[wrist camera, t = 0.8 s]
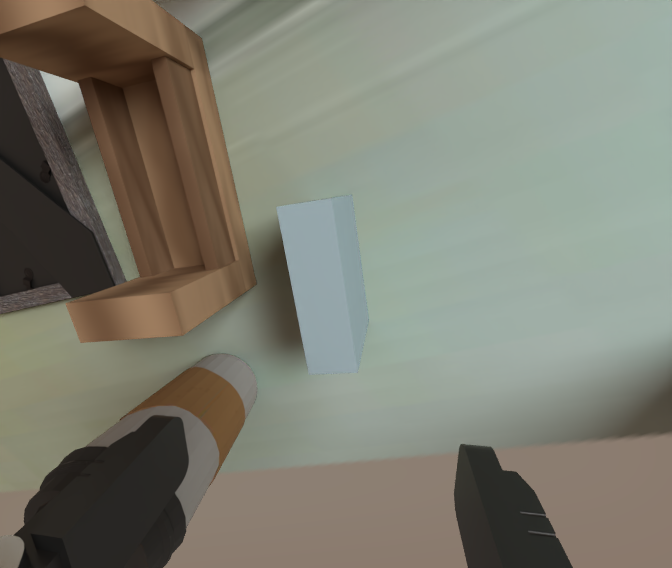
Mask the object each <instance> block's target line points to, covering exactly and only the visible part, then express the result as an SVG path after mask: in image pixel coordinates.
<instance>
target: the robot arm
mask: <svg viewBox="0 0 672 568" xmlns="http://www.w3.org/2000/svg"><path fill="white" fill-rule="evenodd" d="M188 465H189V455H188V449H187V443H186V437H185V431H184V425H183V421H182V419H181V418H180V417H175V416H164V415H153V416H151V417H150V418H148V419H147V420H146V421H145V422H144V423H143V424H142V425H141V426H140V427H139V428H138V429H137V430H136V431H135V432H130V433H129V434H127V435H125V436H124V437H122V438H120V439H119V440H117V441H116V442H114V443H112V444H111V445H110V446H109V447H108V448H107V449H106V450H104V451H103V452H102V453H101V454H100V455H99V456H98V457H97V458H96V459H95V461H94V463H91V464H90V465H88V466H87V467H86V468H85V469H84V470H83V471H82V472H81V474H80V476H77V477H76V478H75V479H73V480H72V481H71V482H70V483H69V484H68V485H67V486H66V487H65V488H64V489H63V490H62V491H61V492H60V493H58V494H57V495H56V496H55V497H54V498H53V499H52V500H51V501H50V502H49V503H48V504H47V505H46V506H45V507H44V508H42V509H41V510H40V511H39V512H38V513H37V514H36V515H35V516H34V517H33V518H32V519H31V520H30V521H29V522H27V523H26V524H25V525H24V526H23V527H22V528H21V529H20V530H19V531H18V532H17V533H15V534H14V535H13V536H12V535H8V536H1V537H0V568H124V566H125V565H126V563H127V562H128V560H129V559H130V557H131V556H132V555H133V553H134V552H135V550H136V549H137V547H138V546H139V544H140V543H141V541H142V540H143V539H144V537H145V536H146V534H147V533H148V531H149V530H150V528H151V527H152V525H153V524H154V523H155V521H156V520H157V518H158V517H159V515H160V514H161V512H162V511H163V509H164V508H165V507H166V505H167V504H168V502H169V501H170V499H171V498H172V496H173V495H174V493H175V492H176V491H177V489H178V488H179V486H180V485H181V483H182V482H183V480H184V478H185V476H186V473H187V470H188ZM454 500H455V511H456V517H457V521H458V526H459V530H460V534H461V539H462V543H463V547H464V552H465V556H466V561H467V565H468V568H573V567H572V565H571V563H570V561H569V559H568V557H567V555H566V553H565V551H564V549H563V547H562V545H561V543H560V542H559V539H558V538H556V536H555V532H554V529H553V527H552V525H551V523H550V521H549V519H548V518H546V515H545V512H544V510H543V508H542V506H541V503H540V501H539V500H538V498H537V496H536V494H535V492H534V490H533V489H532V488H531V487H530V486H529V485H528V484H527V483H526V482H525V481H524V480H523V479H522V478H521V476H520V475H519V474H518V473H517V472H513V471H503V470H502V469H501V466H500V464H499V461H498V459H497V457H496V454H495V452H494V450H493V449H492V448H491V447H487V446H476V445H465V444H461V445H460V448H459V455H458V463H457V472H456V480H455V489H454Z"/></svg>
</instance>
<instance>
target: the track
mask: <svg viewBox="0 0 672 568" xmlns="http://www.w3.org/2000/svg"><path fill="white" fill-rule="evenodd" d="M0 58H4V59H7V60H10V61H13V62H16V63H19V64H22V65H25V66H28V67H31V68H34V69H37V70H40V71H43V72H47V73H50V74H53V75H56V76H59V77H62V78H65V79H68V80H71V81H74V82H77V83H79V86H80V89H81V92H82V95H83V98H84V101H85V105H86V108H87V111H88V114H89V117H90V120H91V123H92V127H93V130H94V133H95V136H96V139H97V142H98V145H99V149H100V152H101V155H102V158H103V161H104V164H105V167H106V170H107V174H108V177H109V180H110V183H111V186H112V189H113V192H114V196H115V199H116V202H117V205H118V208H119V211H120V214H121V218H122V221H123V224H124V227H125V230H126V233H127V236H128V240H129V243H130V246H131V249H132V252H133V255H134V258H135V262H136V265H137V268H138V271H139V274H140V277H139V278H136V279H133V280H131V281H128V282H125V283H122V284H119V285H116V286H114V287H111V288H108V289H105V290H102V291H99V292H97V293H94V294H91V295H88V296H85V297H82V298H80V299H77V300H74V301H71V302H68V303H65V304H66V306H67V309H68V311H69V314H70V316H71V319H72V322H73V324H74V327H75V329H76V332H77V334H78V337H79V340H80V342H81V343H84V342H98V341H112V340H126V339H140V338H154V337H168V336H182V335H184V334H186V333H187V332H189V331H190V330H192V329H193V328H194V327H196V326H197V325H199V324H200V323H202V322H203V321H205V320H206V319H207V318H209V317H210V316H212V315H213V314H215V313H216V312H217V311H219V310H220V309H222V308H223V307H225V306H226V305H227V304H229V303H230V302H232V301H233V300H235V299H236V298H238V297H239V296H240V295H242V294H243V293H245V292H246V291H248V290H249V289H250V288H252V287H253V286H255V285H256V284H257V283H256V279H255V274H254V270H253V265H252V261H251V256H250V252H249V247H248V243H247V238H246V234H245V229H244V225H243V220H242V216H241V211H240V207H239V202H238V198H237V193H236V189H235V184H234V180H233V176H232V171H231V167H230V162H229V158H228V153H227V149H226V144H225V140H224V135H223V131H222V126H221V122H220V117H219V113H218V108H217V104H216V99H215V95H214V90H213V86H212V82H211V77H210V73H209V68H208V64H207V59H206V55H205V50H204V46H203V41H202V38H201V37H199V36H198V35H197V34H195V33H194V32H193V31H192V30H190V29H189V28H188V27H186V26H185V25H184V24H182V23H181V22H180V21H178V20H177V19H176V18H174V17H173V16H172V15H170V14H169V13H168V12H166V11H165V10H164V9H163V8H161V7H160V6H159V5H157V4H156V3H155V2H153V1H152V0H0Z"/></svg>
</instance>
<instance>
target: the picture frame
mask: <svg viewBox="0 0 672 568" xmlns="http://www.w3.org/2000/svg"><path fill="white" fill-rule="evenodd" d="M125 282H127V281H126V279H125V276H124V274H123V271H122V269H121V267H120V264H119V262H118V259H117V257H116V255H115V252H114V250H113V247H112V245H111V242H110V240H109V238H108V235H107V233H106V230H105V228H104V226H103V223H102V221H101V218H100V216H99V214H98V211H97V209H96V206H95V204H94V201H93V199H92V197H91V194H90V192H89V189H88V187H87V185H86V182H85V180H84V177H83V175H82V172H81V170H80V168H79V165H78V163H77V160H76V158H75V156H74V153H73V151H72V148H71V146H70V143H69V141H68V139H67V136H66V134H65V131H64V129H63V127H62V124H61V122H60V119H59V117H58V115H57V112H56V110H55V107H54V105H53V102H52V100H51V98H50V95H49V93H48V90H47V88H46V86H45V83H44V81H43V78H42V76H41V73H40V71H39V70H37V69H34V68H31V67H28V66H25V65H22V64H19V63H16V62H13V61H10V60H7V59H4V58H0V314H2V313H6V312H11V311H15V310H20V309H24V308H28V307H33V306H37V305H42V304H46V303H51V302H55V301H60V300H64V299H69V298H74V297H79V296H83V295H88V294H92V293H97V292H99V291H102V290H105V289H108V288H111V287H114V286H116V285H119V284H122V283H125Z"/></svg>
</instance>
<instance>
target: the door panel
mask: <svg viewBox="0 0 672 568" xmlns="http://www.w3.org/2000/svg"><path fill="white" fill-rule="evenodd" d="M276 208H277V213H278V219H279V224H280V229H281V234H282V239H283V244H284V249H285V254H286V260H287V265H288V270H289V275H290V280H291V285H292V290H293V296H294V301H295V306H296V311H297V316H298V321H299V326H300V332H301V337H302V342H303V347H304V352H305V357H306V362H307V367H308V373H309V375H311V374H337V373H358V369H359V364H360V360H361V355H362V350H363V346H364V341H365V336H366V332H367V327H368V322H369V317H368V309H367V302H366V294H365V287H364V279H363V272H362V264H361V257H360V249H359V242H358V235H357V227H356V220H355V212H354V205H353V197H352V195H346V196H340V197H333V198H327V199H321V200H314V201H308V202H302V203H296V204H291V205H285V206H279V207H276Z"/></svg>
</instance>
